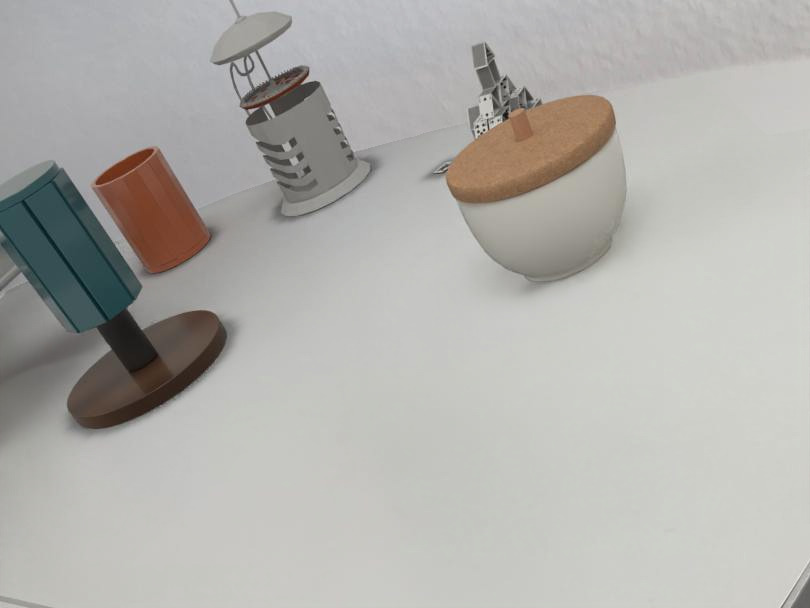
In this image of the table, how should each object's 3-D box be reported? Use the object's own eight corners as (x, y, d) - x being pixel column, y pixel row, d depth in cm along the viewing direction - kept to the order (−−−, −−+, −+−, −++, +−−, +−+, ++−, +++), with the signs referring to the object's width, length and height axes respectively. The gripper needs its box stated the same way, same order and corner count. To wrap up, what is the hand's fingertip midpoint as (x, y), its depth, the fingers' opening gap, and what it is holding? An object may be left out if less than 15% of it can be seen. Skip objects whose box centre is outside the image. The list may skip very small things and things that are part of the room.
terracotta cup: (135, 272, 101) (79, 188, 95) (188, 232, 104) (136, 147, 98) (168, 275, 96) (111, 186, 90) (223, 232, 99) (171, 143, 93)
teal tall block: (56, 330, 77) (-36, 209, 70) (118, 282, 79) (34, 161, 73) (89, 336, 73) (-6, 208, 66) (154, 286, 75) (68, 157, 68)
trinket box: (606, 196, 69) (562, 55, 62) (676, 238, 60) (633, 80, 54) (471, 272, 69) (414, 139, 63) (522, 324, 61) (462, 176, 55)
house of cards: (469, 127, 91) (435, 39, 86) (553, 103, 86) (523, 8, 81) (431, 176, 86) (392, 85, 81) (518, 152, 81) (483, 55, 76)
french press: (310, 220, 91) (147, -91, 74) (256, 212, 99) (99, -69, 83) (389, 162, 93) (248, -151, 77) (330, 159, 101) (192, -124, 85)
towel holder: (51, 415, 82) (-89, 246, 72) (175, 317, 87) (60, 144, 77) (122, 441, 73) (-27, 249, 63) (257, 329, 77) (138, 133, 67)
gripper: (-205, 334, 73) (-95, 298, 67) (-37, 197, 85) (70, 156, 79) (-138, 402, 78) (-28, 376, 71) (13, 263, 89) (119, 229, 83)
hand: (25, 259), depth 75 cm, fingers open, 8 cm apart
